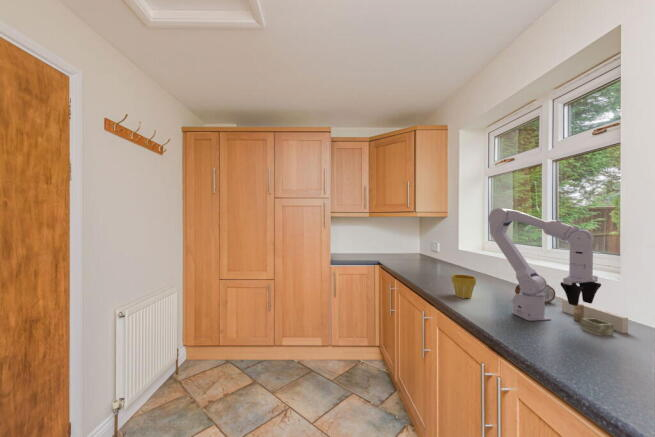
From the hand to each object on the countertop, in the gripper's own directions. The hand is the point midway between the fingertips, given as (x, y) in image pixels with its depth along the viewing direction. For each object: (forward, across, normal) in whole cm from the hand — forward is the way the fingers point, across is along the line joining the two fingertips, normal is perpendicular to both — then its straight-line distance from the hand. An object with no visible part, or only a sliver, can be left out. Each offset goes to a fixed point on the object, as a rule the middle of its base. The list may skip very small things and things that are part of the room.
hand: (580, 303), depth 89 cm
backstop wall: (+9, +12, +3) cm, 16 cm away
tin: (+9, +16, +25) cm, 31 cm away
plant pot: (+9, -10, +40) cm, 43 cm away
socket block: (+9, +3, -3) cm, 10 cm away
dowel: (+9, +8, +5) cm, 13 cm away
